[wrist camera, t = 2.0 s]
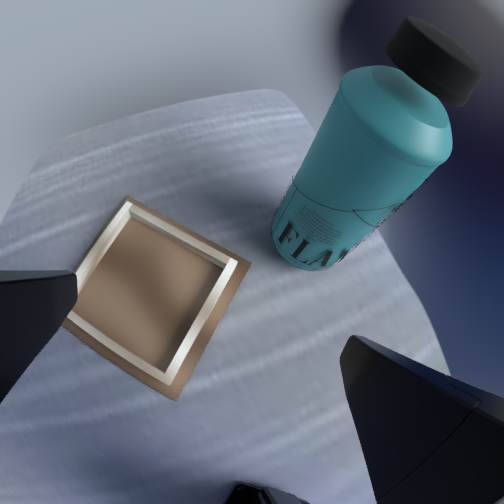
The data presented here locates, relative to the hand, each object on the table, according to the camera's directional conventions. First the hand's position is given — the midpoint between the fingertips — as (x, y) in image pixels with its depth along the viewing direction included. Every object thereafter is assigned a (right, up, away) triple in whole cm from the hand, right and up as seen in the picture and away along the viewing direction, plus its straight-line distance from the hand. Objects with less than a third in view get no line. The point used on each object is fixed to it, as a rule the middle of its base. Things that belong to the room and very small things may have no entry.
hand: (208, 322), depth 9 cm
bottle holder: (-7, -1, +13) cm, 15 cm away
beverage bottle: (+6, +3, +17) cm, 18 cm away
